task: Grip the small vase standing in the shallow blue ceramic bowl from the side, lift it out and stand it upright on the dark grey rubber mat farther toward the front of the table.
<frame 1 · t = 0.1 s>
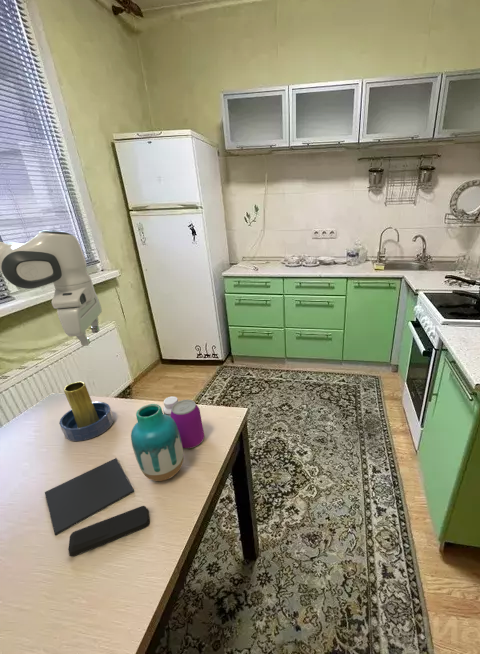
hand: (91, 338, 95), 25 cm above the table, tool pointing down, fingers open, 8 cm apart
remote control: (111, 532, 68), on the table
pill bottle: (176, 424, 99), on the table
bowl: (90, 426, 98), on the table
vase: (89, 426, 98), resting on bowl
beverage can: (191, 441, 92), on the table
vase 2: (165, 472, 82), on the table
mat: (89, 492, 77), on the table
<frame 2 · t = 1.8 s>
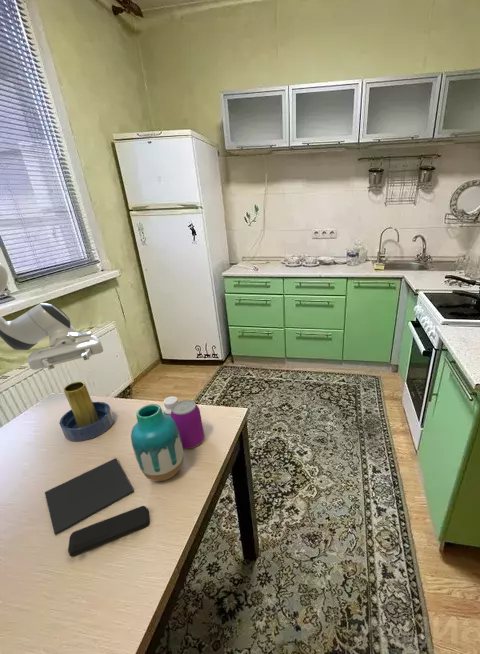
hand: (68, 362, 99), 17 cm above the table, tool horizontal, fingers open, 8 cm apart
nothing on the table moved.
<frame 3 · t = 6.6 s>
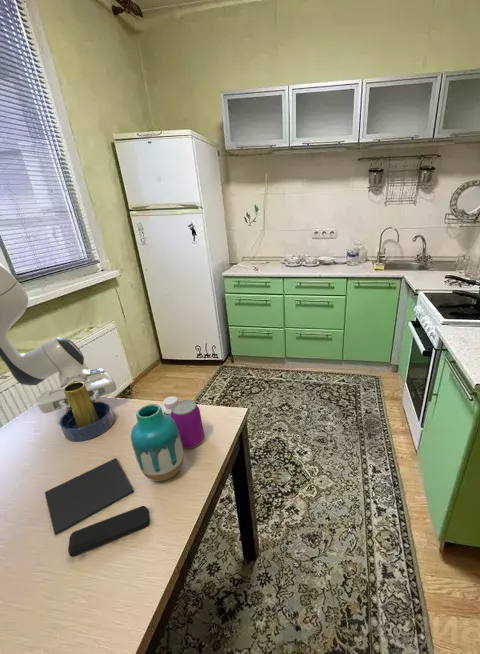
hand: (81, 405, 94), 9 cm above the table, tool horizontal, fingers closed on vase, 5 cm apart
vase: (89, 426, 98), resting on bowl, touching gripper
everything else where it was.
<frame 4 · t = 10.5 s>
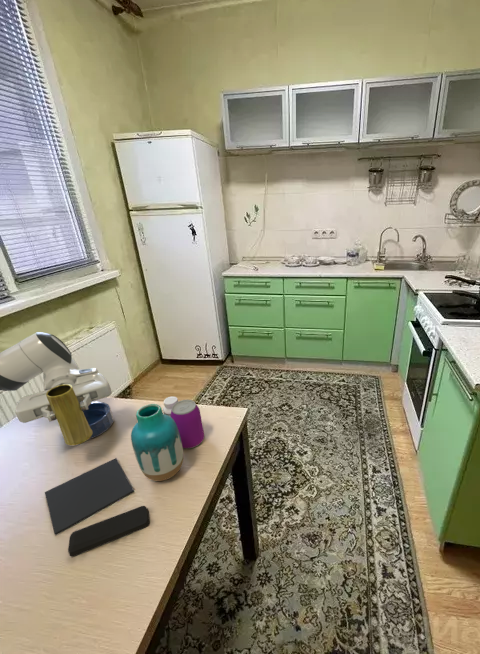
hand: (68, 412, 77), 17 cm above the table, tool horizontal, fingers closed on vase, 5 cm apart
vase: (79, 437, 82), point 8 cm above the table, touching gripper
everything else where it was.
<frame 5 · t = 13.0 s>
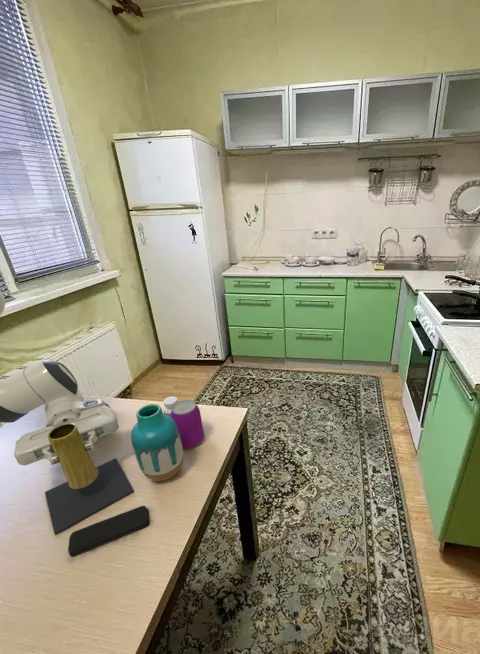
hand: (72, 454, 70), 13 cm above the table, tool horizontal, fingers closed on vase, 5 cm apart
vase: (84, 479, 75), point 4 cm above the table, touching gripper
everything else where it was.
when the fingers open (9 cm above the table, at t = 14.7 s): vase stays where it is, resting on mat.
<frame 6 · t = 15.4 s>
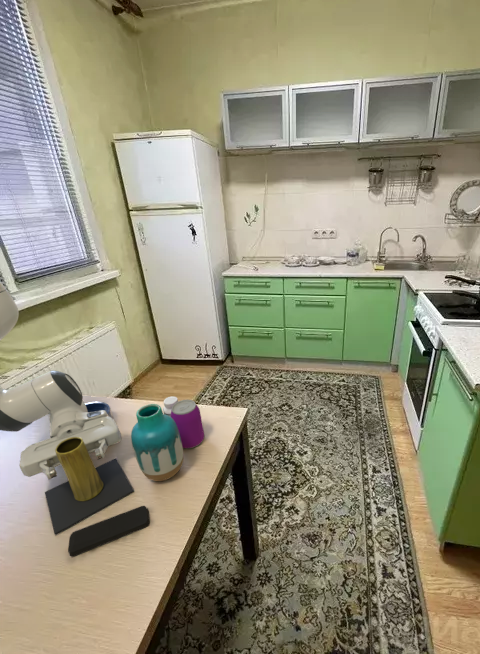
hand: (76, 465, 72), 9 cm above the table, tool horizontal, fingers open, 8 cm apart
vase: (89, 491, 77), resting on mat
everything else where it was.
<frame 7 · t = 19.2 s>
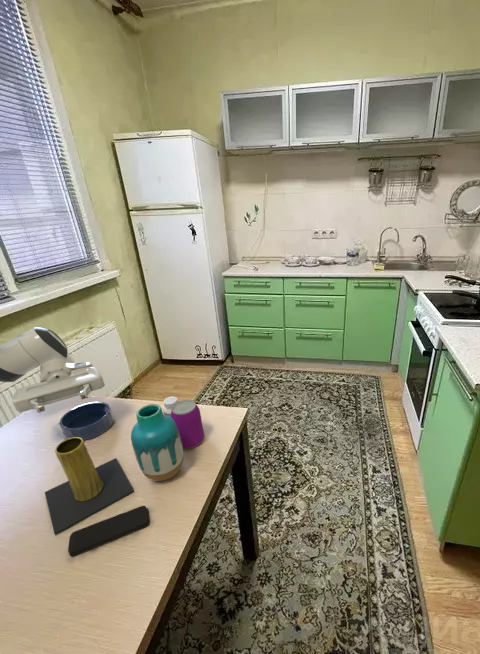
hand: (62, 402, 82), 16 cm above the table, tool horizontal, fingers open, 8 cm apart
nothing on the table moved.
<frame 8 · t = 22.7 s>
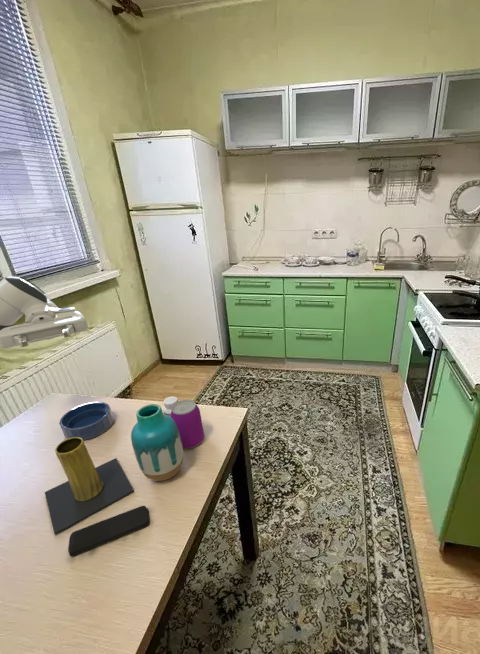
hand: (45, 339, 84), 30 cm above the table, tool horizontal, fingers open, 8 cm apart
nothing on the table moved.
at the end: vase inside the target area on the mat (0.1 cm from its centre), point 0.4 cm above the mat's base; vase tilted 0°; vase touching mat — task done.
